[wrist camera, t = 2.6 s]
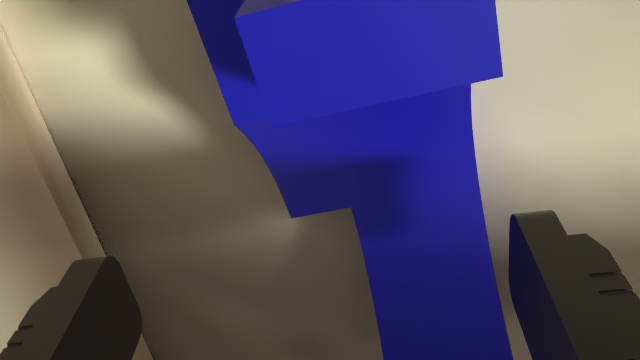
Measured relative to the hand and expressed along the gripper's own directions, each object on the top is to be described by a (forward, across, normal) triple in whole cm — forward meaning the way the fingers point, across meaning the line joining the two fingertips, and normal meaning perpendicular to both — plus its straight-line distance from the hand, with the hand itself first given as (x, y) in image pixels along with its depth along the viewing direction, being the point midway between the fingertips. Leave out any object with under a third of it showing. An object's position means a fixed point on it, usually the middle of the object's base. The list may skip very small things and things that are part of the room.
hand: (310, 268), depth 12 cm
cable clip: (+4, -2, 0) cm, 4 cm away
